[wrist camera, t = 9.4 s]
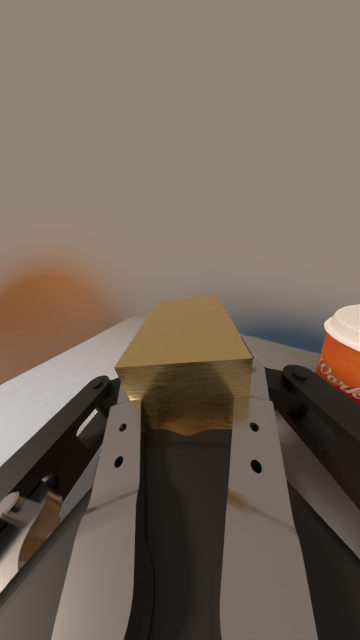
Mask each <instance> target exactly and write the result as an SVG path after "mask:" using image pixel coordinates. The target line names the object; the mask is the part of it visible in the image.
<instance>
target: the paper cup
mask: <svg viewBox="0 0 360 640" xmlns="http://www.w3.org/2000/svg"><path fill="white" fill-rule="evenodd" d="M324 327H325V330H326V331H327V334H326V337H325V341H324V345H323V348H322V352H321V356H320V359H319V363H318V367H317V370H316V374H317V375H318V376H319V377H321V378H322V379H324V380H325V381H327V382H328V383H329V384H331V385H332V386H334V387H335V388H337V389H338V390H339V391H341V392H342V393H344V394H345V395H347V396H348V397H349V398H351V399H352V400H354V401H355V402H357V403H358V404H359V405H360V305H351V306H346V307H343V308H341V309H339V310H338V311H336V313H335V314H334V316H333V317H330V318H329V319H328V320H327V321H326V322H325V324H324Z"/></svg>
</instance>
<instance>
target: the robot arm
mask: <svg viewBox="0 0 360 640" xmlns="http://www.w3.org/2000/svg"><path fill="white" fill-rule="evenodd" d="M241 338H242V337H241ZM242 340H243V338H242ZM243 342H244V340H243ZM244 343H245V342H244ZM245 345H246V344H245ZM246 347H247V345H246ZM247 349H248V347H247ZM248 350H249V349H248ZM249 352H250V351H249ZM250 354H251V352H250ZM251 356H252V354H251ZM252 357H253V356H252ZM95 408H96V410H97V411H98V412H97V413H96V415H95V416H94V417H93V418H92V420H91V421H90V422H89V423H88V424H87V426H86V427H85V428H84V429H83V431H82V432H81V433H80V434H79V435H78V436H76V434H77V431H78V429H79V427H80V426H81V425H82V423H83V422H84V421H85V420H86V419H87V418H88V416H89V415H90V414H91V413H92V412H93V410H94V409H95ZM274 410H277V411H278V412H279V413H280V414H281V416H282V417H283V418H284V419H285V420H286V422H287V423H288V424H289V425H290V426H291V428H292V429H293V430H294V431H295V432H296V434H297V435H298V436H299V437H300V438H301V440H302V441H303V442H304V443H305V444H306V446H307V447H308V448H309V449H310V450H311V452H312V453H313V454H314V455H315V456H316V458H317V459H318V460H319V461H320V462H321V464H322V465H323V466H324V467H325V468H326V470H327V471H328V472H329V473H330V474H331V476H332V477H333V478H334V479H335V480H336V482H337V483H338V484H339V485H340V486H341V488H342V489H343V490H344V491H345V492H346V494H347V495H348V496H349V497H350V498H351V500H352V501H353V502H354V503H355V504H356V506H357V507H358V508H359V509H360V405H359V404H358V403H357V402H355V401H354V400H352V399H351V398H349V397H348V396H347V395H345V394H344V393H342V392H341V391H339V390H338V389H337V388H335V387H334V386H332V385H331V384H329V383H328V382H327V381H325V380H324V379H322V378H321V377H319V376H318V375H317V374H315V373H314V372H312V371H311V370H309V369H307V368H305V367H302V366H298V365H288V366H285V367H284V368H283V371H280V370H274V369H269V368H266V367H264V366H263V364H262V363H261V362H259V361H258V360H255V359H254V357H253V363H252V375H251V386H250V397H235V398H234V412H233V427H232V429H209V430H206V431H203V432H199V433H196V434H193V435H190V436H185V435H182V434H179V433H176V432H173V431H170V430H167V429H153V426H152V424H151V422H150V419H149V417H148V415H147V413H146V410H145V408H144V406H143V403H142V401H141V400H133V401H130V399H129V397H128V395H127V393H126V391H125V389H124V387H123V385H122V383H121V381H120V378H117V379H114V380H110V379H109V378H108V377H107V376H99V377H97V378H95V379H93V380H92V381H90V382H89V383H88V384H87V385H86V386H85V387H84V388H83V389H82V390H81V391H80V392H79V393H78V394H77V395H76V396H75V397H74V398H72V399H71V400H70V401H69V402H68V403H67V404H66V405H65V406H64V407H63V408H62V409H61V410H60V411H59V412H58V413H57V414H56V415H55V416H54V417H52V418H51V419H50V420H49V421H48V422H47V423H46V424H45V425H44V426H43V427H42V428H41V429H40V430H39V431H38V432H37V433H36V434H35V435H34V436H32V437H31V438H30V439H29V440H28V441H27V442H26V443H25V444H24V445H23V446H22V447H21V448H20V449H19V450H18V451H17V452H16V453H15V454H14V455H12V456H11V457H10V458H9V459H8V460H7V461H6V462H5V463H4V464H3V465H2V466H1V467H0V640H360V559H359V558H358V557H357V556H356V554H355V553H354V552H353V551H352V550H351V549H350V548H349V547H348V546H347V545H346V544H345V543H344V542H343V540H342V539H341V538H340V537H339V536H338V535H337V534H336V533H335V532H334V531H333V530H332V529H331V528H330V526H329V525H328V524H327V523H326V522H325V521H324V520H323V519H322V518H321V517H320V516H319V515H318V514H317V512H316V511H315V510H314V509H313V508H312V507H311V506H310V505H309V504H308V503H307V502H306V501H305V499H304V498H303V497H302V496H301V495H300V494H299V493H298V492H297V491H296V490H295V489H294V488H293V486H292V485H291V484H290V483H289V482H288V481H287V480H286V476H285V470H284V464H283V458H282V452H281V446H280V441H279V435H278V429H277V423H276V417H275V411H274ZM102 443H103V444H102ZM101 444H102V448H101V453H100V457H99V462H98V466H97V471H96V475H95V480H94V485H93V486H92V487H91V489H90V490H89V491H88V492H87V493H86V494H85V495H84V497H83V498H82V499H81V500H80V501H79V502H78V503H77V505H76V506H75V507H74V508H73V509H72V510H71V511H70V513H69V514H68V515H67V516H66V517H65V518H64V519H63V521H62V522H61V523H60V524H59V522H60V518H61V515H60V509H61V505H62V503H63V501H64V500H65V498H66V497H67V495H68V494H69V492H70V491H71V489H72V488H73V486H74V485H75V483H76V482H77V480H78V479H79V477H80V476H81V474H82V473H83V471H84V470H85V468H86V467H87V465H88V464H89V462H90V461H91V459H92V458H93V456H94V455H95V453H96V452H97V450H98V449H99V447H100V446H101ZM47 537H48V538H47ZM46 538H47V539H46Z"/></svg>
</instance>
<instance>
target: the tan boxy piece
mask: <svg viewBox="0 0 360 640" xmlns="http://www.w3.org/2000/svg"><path fill="white" fill-rule="evenodd" d="M252 363H253V357H252V356H251V354H250V352H249V350H248V349H247V347H246V345H245V343H244V342H243V340H242V338H241V336H240V335H239V333H238V331H237V329H236V327H235V326H234V324H233V322H232V320H231V319H230V317H229V315H228V314H227V312H226V310H225V308H224V307H223V305H222V303H221V301H220V299H219V298H218V296H217V295H216V294H214V295H206V296H198V297H191V298H184V299H176V300H168V301H160V302H157V304H156V305H155V307H154V308H153V310H152V311H151V313H150V315H149V316H148V317H147V319H146V320H145V322H144V323H143V325H142V326H141V328H140V329H139V331H138V332H137V334H136V335H135V337H134V338H133V340H132V341H131V343H130V344H129V346H128V347H127V349H126V350H125V352H124V353H123V355H122V356H121V358H120V359H119V361H118V362H117V364H116V366H115V367H114V368H115V370H116V372H117V374H118V376H119V378H120V381H121V383H122V385H123V387H124V389H125V391H126V393H127V395H128V397H129V399H130V401H133V400H141V401H142V403H143V406H144V408H145V410H146V413H147V415H148V417H149V419H150V422H151V424H152V426H153V429H167V430H170V431H173V432H176V433H179V434H182V435H185V436H190V435H193V434H196V433H199V432H203V431H206V430H209V429H232V427H233V412H234V398H235V397H250V386H251V375H252Z"/></svg>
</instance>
